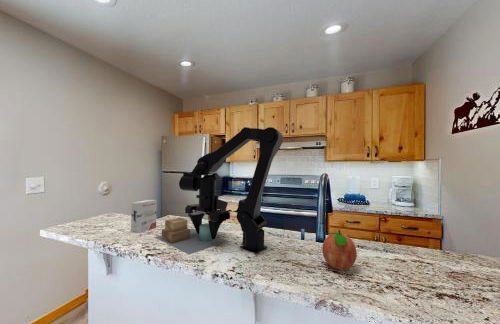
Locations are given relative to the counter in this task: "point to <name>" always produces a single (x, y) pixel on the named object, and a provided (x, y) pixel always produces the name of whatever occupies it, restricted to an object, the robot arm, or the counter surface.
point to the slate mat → (194, 243)
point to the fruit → (339, 251)
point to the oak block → (176, 224)
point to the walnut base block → (175, 236)
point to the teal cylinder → (204, 233)
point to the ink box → (143, 216)
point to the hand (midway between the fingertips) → (206, 236)
